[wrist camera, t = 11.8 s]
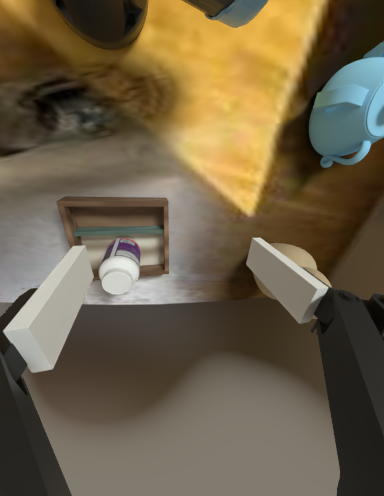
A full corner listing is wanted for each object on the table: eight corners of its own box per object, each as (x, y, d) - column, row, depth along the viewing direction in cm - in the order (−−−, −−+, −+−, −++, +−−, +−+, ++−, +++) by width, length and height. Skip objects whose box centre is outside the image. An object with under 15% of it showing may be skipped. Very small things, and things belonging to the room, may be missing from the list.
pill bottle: (117, 265, 47) (106, 304, 35) (102, 241, 43) (84, 275, 31) (145, 256, 48) (144, 291, 35) (134, 231, 44) (128, 261, 31)
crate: (65, 196, 37) (56, 201, 33) (166, 197, 42) (168, 202, 38) (86, 271, 47) (81, 281, 43) (167, 264, 52) (168, 273, 48)
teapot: (369, 129, 46) (447, 120, 34) (307, 175, 48) (359, 181, 36) (365, 39, 36) (470, -17, 24) (288, 102, 39) (350, 78, 27)
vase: (239, 241, 53) (324, 319, 28) (287, 227, 55) (408, 289, 29) (242, 280, 62) (308, 368, 36) (283, 267, 64) (374, 342, 38)
